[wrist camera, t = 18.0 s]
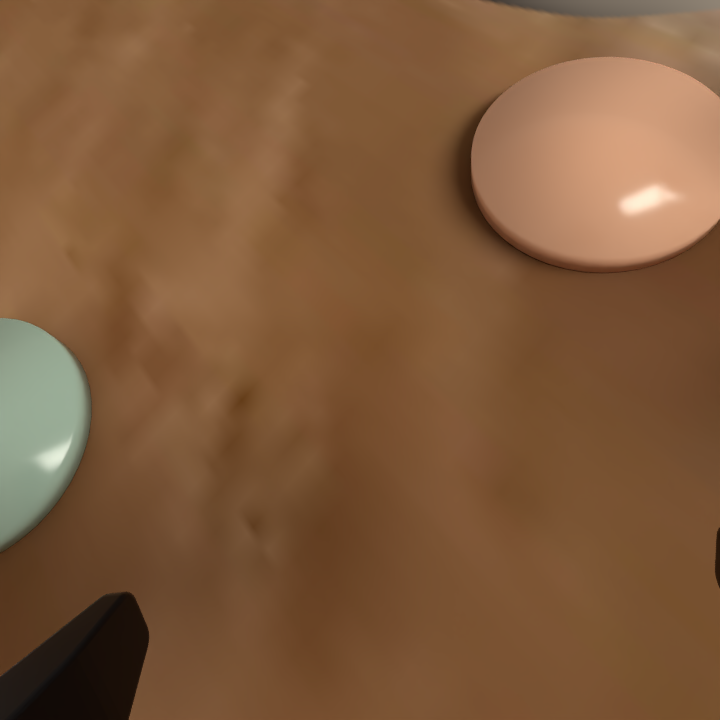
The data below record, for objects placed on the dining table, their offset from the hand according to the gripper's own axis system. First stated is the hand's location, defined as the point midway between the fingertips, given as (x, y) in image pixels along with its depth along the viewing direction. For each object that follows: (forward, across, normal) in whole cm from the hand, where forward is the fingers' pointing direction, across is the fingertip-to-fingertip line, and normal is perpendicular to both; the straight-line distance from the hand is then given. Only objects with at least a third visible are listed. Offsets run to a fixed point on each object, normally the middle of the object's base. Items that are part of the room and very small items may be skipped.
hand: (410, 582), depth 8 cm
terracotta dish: (+22, -10, -3) cm, 25 cm away
